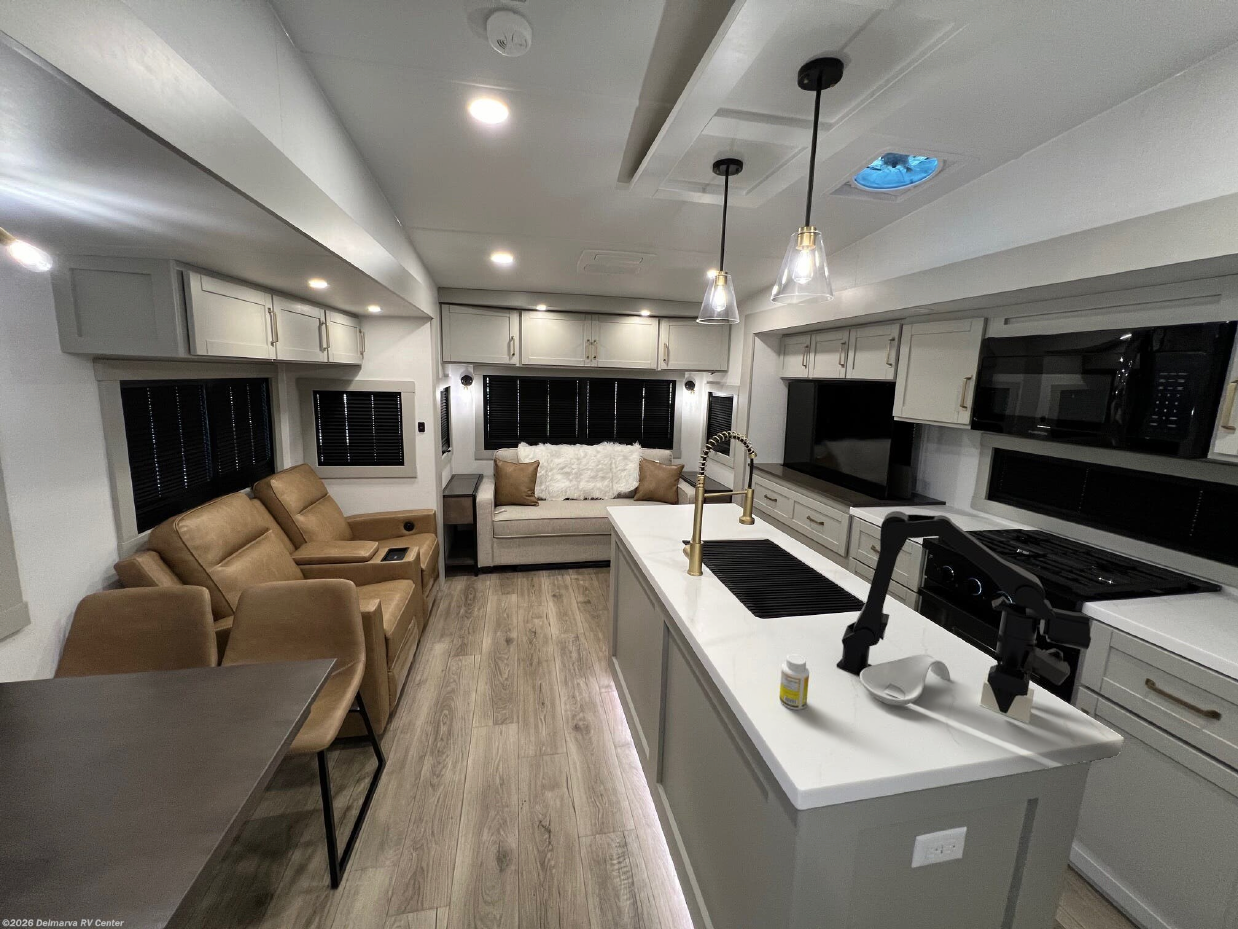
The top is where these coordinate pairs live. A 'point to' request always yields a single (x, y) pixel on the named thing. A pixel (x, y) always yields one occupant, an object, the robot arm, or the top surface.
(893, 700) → the spoon rest
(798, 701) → the supplement bottle
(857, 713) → the top surface
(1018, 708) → the block
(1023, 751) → the top surface
